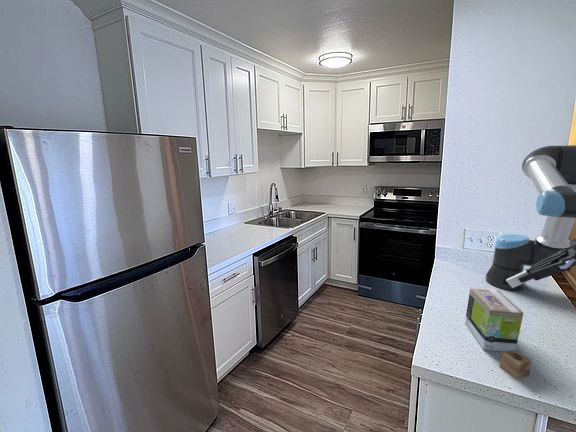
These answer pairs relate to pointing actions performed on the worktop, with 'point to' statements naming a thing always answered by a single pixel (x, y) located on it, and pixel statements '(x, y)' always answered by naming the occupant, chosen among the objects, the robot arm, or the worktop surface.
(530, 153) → the robot arm
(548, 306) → the worktop surface
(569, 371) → the worktop surface
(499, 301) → the tea box
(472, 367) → the worktop surface
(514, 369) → the walnut block
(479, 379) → the worktop surface
